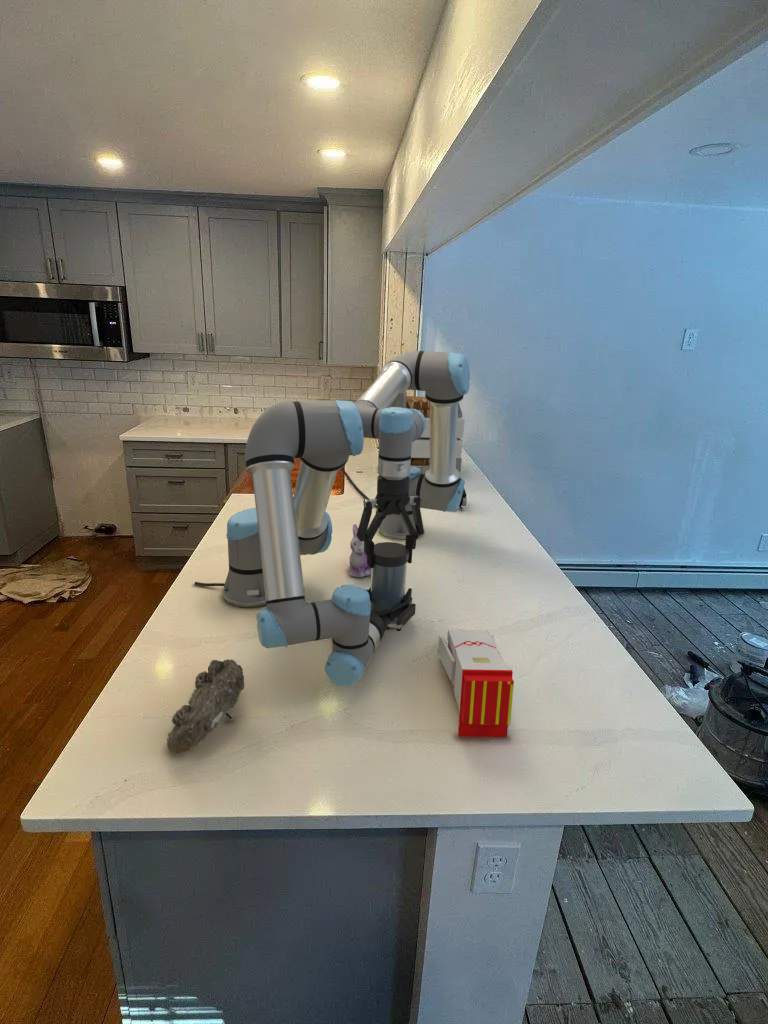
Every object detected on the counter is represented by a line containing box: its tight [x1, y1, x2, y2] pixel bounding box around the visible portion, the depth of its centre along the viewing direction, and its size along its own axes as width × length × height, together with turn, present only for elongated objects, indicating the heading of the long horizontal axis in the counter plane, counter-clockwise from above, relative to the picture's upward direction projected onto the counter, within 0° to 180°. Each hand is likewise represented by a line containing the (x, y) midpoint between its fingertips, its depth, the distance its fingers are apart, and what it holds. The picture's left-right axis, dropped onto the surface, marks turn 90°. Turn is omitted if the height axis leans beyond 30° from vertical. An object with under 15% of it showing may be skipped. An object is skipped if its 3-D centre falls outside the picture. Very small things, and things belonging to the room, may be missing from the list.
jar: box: [370, 562, 408, 630], centre depth 141 cm, size 9×9×19 cm
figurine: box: [348, 523, 371, 578], centre depth 167 cm, size 9×10×15 cm
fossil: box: [166, 658, 245, 754], centre depth 106 cm, size 22×10×15 cm
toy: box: [437, 628, 515, 738], centre depth 117 cm, size 12×13×30 cm
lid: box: [374, 541, 409, 566], centre depth 138 cm, size 9×9×2 cm
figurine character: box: [458, 488, 468, 511], centre depth 230 cm, size 7×8×15 cm
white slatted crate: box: [389, 390, 465, 475], centre depth 268 cm, size 34×33×41 cm
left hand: (392, 589), depth 147 cm, fingers closed on jar, 9 cm apart
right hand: (389, 563), depth 139 cm, fingers closed on lid, 9 cm apart
